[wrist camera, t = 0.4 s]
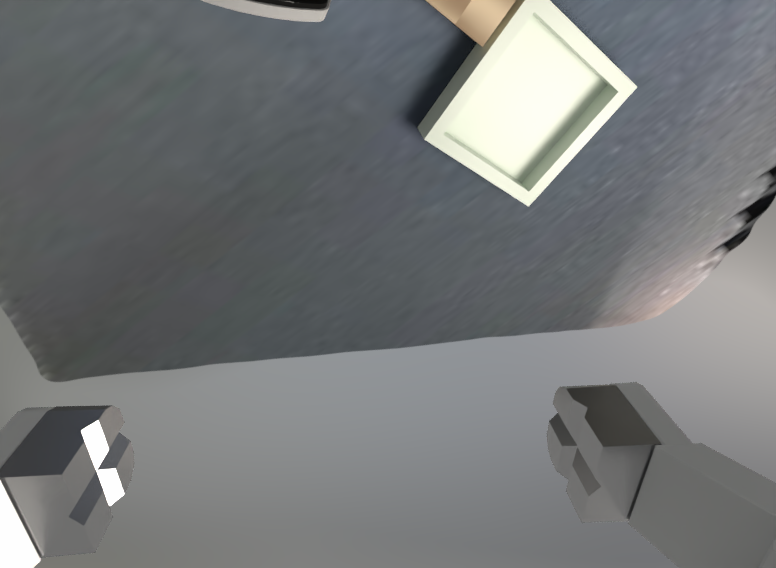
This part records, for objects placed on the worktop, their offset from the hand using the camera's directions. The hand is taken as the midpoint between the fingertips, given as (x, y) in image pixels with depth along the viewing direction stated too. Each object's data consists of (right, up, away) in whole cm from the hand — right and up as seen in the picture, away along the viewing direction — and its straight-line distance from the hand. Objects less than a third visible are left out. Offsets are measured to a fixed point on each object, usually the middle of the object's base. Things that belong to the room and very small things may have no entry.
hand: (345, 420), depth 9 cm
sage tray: (+17, +24, +48) cm, 57 cm away
